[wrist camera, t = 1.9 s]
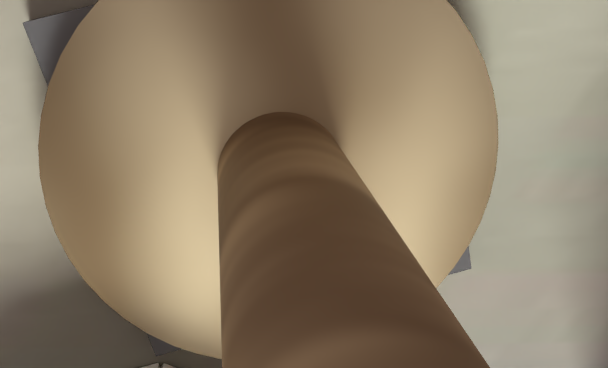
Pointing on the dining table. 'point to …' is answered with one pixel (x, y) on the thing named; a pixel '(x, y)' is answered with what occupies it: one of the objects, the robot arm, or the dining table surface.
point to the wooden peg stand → (274, 175)
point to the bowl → (156, 366)
